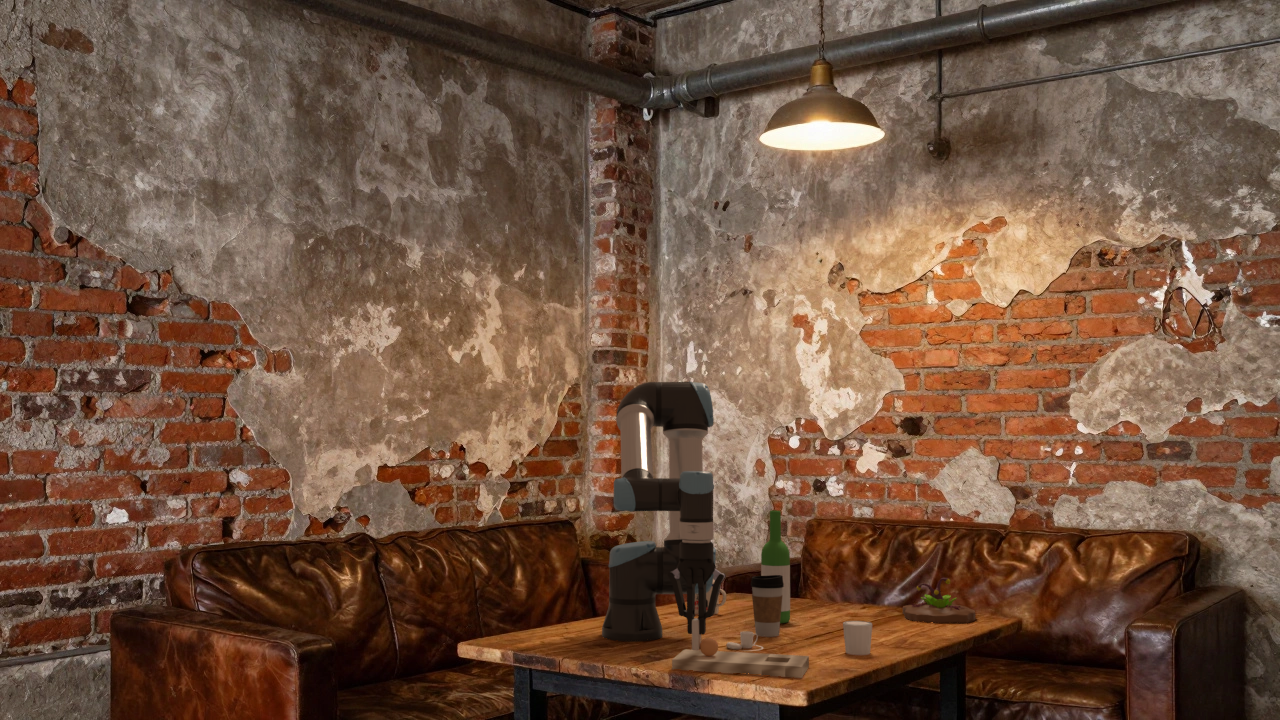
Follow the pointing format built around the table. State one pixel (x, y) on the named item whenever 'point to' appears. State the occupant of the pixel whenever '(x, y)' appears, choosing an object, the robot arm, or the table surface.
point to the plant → (938, 608)
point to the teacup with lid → (709, 600)
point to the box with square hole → (742, 663)
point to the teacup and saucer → (744, 641)
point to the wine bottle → (777, 562)
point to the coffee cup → (767, 604)
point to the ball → (709, 646)
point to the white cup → (857, 637)
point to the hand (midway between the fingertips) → (696, 649)
